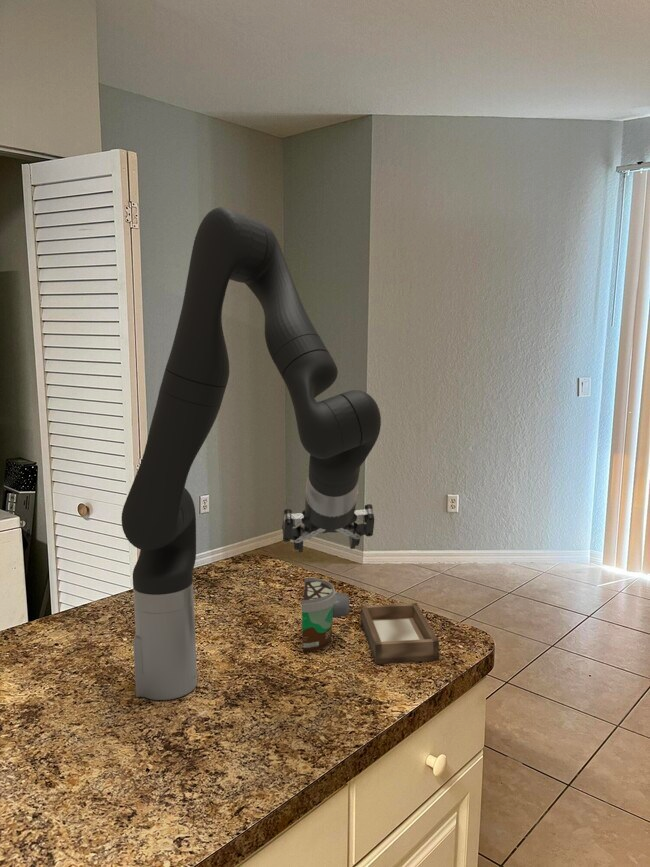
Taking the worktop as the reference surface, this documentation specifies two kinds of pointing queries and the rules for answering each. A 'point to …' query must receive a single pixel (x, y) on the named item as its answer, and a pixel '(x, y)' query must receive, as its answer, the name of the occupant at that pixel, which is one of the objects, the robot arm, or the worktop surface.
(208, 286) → the robot arm
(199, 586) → the worktop surface
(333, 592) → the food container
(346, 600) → the grey domed puck
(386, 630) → the tray
